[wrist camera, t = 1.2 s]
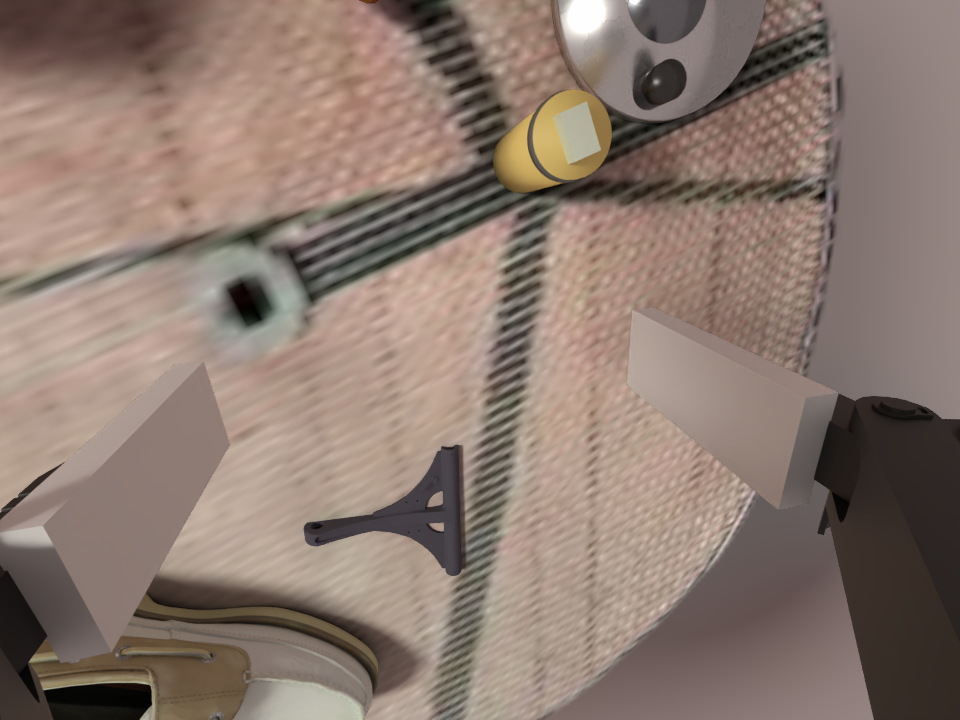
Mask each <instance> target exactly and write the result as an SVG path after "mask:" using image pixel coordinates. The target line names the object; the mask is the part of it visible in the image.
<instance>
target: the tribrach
mask: <svg viewBox="0 0 960 720" xmlns="http://www.w3.org/2000/svg"><path fill="white" fill-rule="evenodd" d="M765 3H766V0H551V7H552V17H553V24H554V29H555V34H556V38H557V42H558V45H559V48H560V51H561V53H562V56H563V59H564V61H565V63H566V65H567V67H568V69H569V71H570V73H571V75H572V76H573V78H574V79H575V81H576V82H577V84H578V85H579V87H580V88H581V89H582V90H583V91H585V92H588V93H590V94H592V95H593V96H595V97H596V98H597V99H598V100H599V101H600V102H601V103H602V104H603V106H604V108H605V109H606V111H607V112H609V113H610V114H612V115H614V116H617V117H619V118H621V119H624V120H628V121H631V122H636V123H645V124H650V123H661V122H666V121H671V120H674V119H676V118H679V117H682V116H684V115H687V114H690V113H692V112H694V111H696V110H698V109H700V108H702V107H704V106H705V105H707V104H708V103H710V102H711V101H712V100H714V99H715V98H716V97H717V96H719V95H720V94H721V93H722V92H723V91H724V90H725V89H726V88H727V87H728V86H729V84H730V83H731V82H732V81H733V80H734V78H735V77H736V76H737V74H738V73H739V71H740V70H741V68H742V67H743V65H744V64H745V62H746V60H747V58H748V56H749V54H750V52H751V51H752V48H753V46H754V43H755V41H756V38H757V36H758V33H759V29H760V26H761V22H762V19H763V14H764V9H765Z"/></svg>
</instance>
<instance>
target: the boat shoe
mask: <svg viewBox="0 0 960 720" xmlns="http://www.w3.org/2000/svg"><path fill="white" fill-rule="evenodd" d="M29 663H30V664H31V666H32V667H33V669H34V670H35V672H36V674H37V675H38V677H39V680H40V683H41V686H42V688H43V691H44V694H45V697H46V700H47V703H48V706H49V709H50V712H51V715H52V717H53V720H364V718H365V716H366V714H367V712H368V710H369V708H370V705H371V702H372V696H373V695H374V692H375V690H376V688H377V684H378V671H379V670H378V662H377V659H376V657H375V655H374V654H373V652H372V651H371V650H370V649H369V648H368V647H367V646H366V645H365V644H364V643H362V642H361V641H360V640H358V639H357V638H355V637H354V636H352V635H350V634H349V633H347V632H345V631H344V630H342V629H340V628H338V627H336V626H334V625H332V624H329V623H327V622H325V621H322V620H320V619H317V618H315V617H312V616H309V615H306V614H303V613H299V612H296V611H292V610H288V609H283V608H276V607H240V608H229V609H217V610H192V609H183V608H175V607H167V606H163V605H159V604H156V603H154V602H153V600H152V599H151V598H150V597H149V596H148V594H147V593H145V595H144V596H143V598H142V600H141V602H140V604H139V605H138V607H137V609H136V611H135V612H134V614H133V616H132V618H131V619H130V621H129V623H128V625H127V626H126V628H125V630H124V632H123V633H122V635H121V637H120V639H119V640H118V642H117V644H116V646H115V647H114V649H113V651H112V652H110V653H105V654H101V655H96V656H91V657H87V658H82V659H77V660H73V661H68V662H63V663H61V662H60V661H59V659H58V657H57V656H56V654H55V652H54V651H53V649H52V648H51V646H50V644H49V643H48V641H47V640H46V639H45V640H44V642H43V643H42V644H41V646H40V647H39V649H38V650H37V651H36V653H35V654H34V655H33V657H32V658H31V660H30V661H29Z"/></svg>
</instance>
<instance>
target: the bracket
mask: <svg viewBox="0 0 960 720" xmlns="http://www.w3.org/2000/svg"><path fill="white" fill-rule="evenodd" d="M440 491H443V504H442V505H439V506H434V507H427V508H425V505H426V502H427V501H428V499H429V498H430V497H431V496H432V495H433V494H435V493H437V492H440ZM443 522H444V531H443V532H440V531H435V530H432V529H431V528H429V526H428V525H427V524H426V523H443ZM315 527H321V528H317V529H314V528H315ZM371 531H383V532H392V533H396V534H400V535H404V536H407V537H410V538H412V539H413V540H415V541H417V542H419V543H420V544H422V545H423V546H424V547H426V548H427V549H428V550H429V551H430V552H431V553H432V554H433V555H434V556H435V558H436V559H437V561H438V562H439V564H440V565H441V567H442V568H446V573H447V574H448V575H451V576H456V575H458V574H460V572H461V536H460V498H459V459H458V445H455V446H454V448H453V449H445V448H444V447H443V446H442V447H441V451H438V452H437V454H436V456H435V458H434V461H433V463H432V465H431V467H430V469H429V470H428V472H427V473H426V475H425V476H424V478H423V479H422V480H421V481H420V483H419V484H418V485H417V486H416V487H415V488H414V489H413V490H412V491H411V492H410V493H409V494H408V495H407V496H405V497H404V498H402V499H400V500H399V501H397V502H396V503H394V504H392V505H390V506H388V507H386V508H383V509H381V510H378V511H376V512H374V513H373V514H372V515H364V516H356V517H349V518H341V519H333V520H325V521H317V522H309V523H306V524H305V526H304V534H305V540H306V542H307V544H309V545H311V546H321V545H324V544H327V543H329V542H333V541H336V540H340V539H343V538H347V537H350V536H354V535H358V534H361V533H366V532H371Z"/></svg>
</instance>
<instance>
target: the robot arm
mask: <svg viewBox="0 0 960 720" xmlns="http://www.w3.org/2000/svg"><path fill="white" fill-rule="evenodd" d="M627 386H629V387H630V388H631V389H632V390H633V391H635V392H636V393H637V394H638V395H639V396H641V397H642V398H643V399H644V400H646V401H647V402H648V403H649V404H650V405H652V406H653V407H654V408H655V409H656V410H658V411H659V412H660V413H661V414H663V415H664V416H665V417H666V418H667V419H669V420H670V421H671V422H672V423H673V424H675V425H676V426H677V427H678V428H679V429H681V430H682V431H683V432H684V433H686V434H687V435H688V436H689V437H690V438H692V439H693V440H694V441H695V442H696V443H698V444H699V445H700V446H701V447H703V448H704V449H705V450H706V451H707V452H709V453H710V454H711V455H712V456H713V457H715V458H716V459H717V460H718V461H719V462H721V463H722V464H723V465H724V466H726V467H727V468H728V469H729V470H730V471H732V472H733V473H734V474H735V475H736V476H738V477H739V478H740V479H741V480H743V481H744V482H745V483H746V484H747V485H749V486H750V487H751V488H752V489H753V490H755V491H756V492H757V493H758V494H759V495H761V496H762V497H763V498H764V499H766V500H767V501H768V502H769V503H771V504H772V505H773V506H774V507H775V508H776V509H778V510H781V509H785V508H790V507H795V506H800V505H804V504H808V502H809V498H810V495H811V492H812V488H813V484H814V481H815V480H816V481H818V482H819V483H820V484H822V485H823V486H825V487H827V488H828V489H829V494H828V497H827V501H826V504H825V507H824V511H823V514H822V518H821V521H820V525H819V528H818V534H822V535H824V532H825V529H826V528H829V527H831V532H832V536H833V541H834V545H835V550H836V554H837V558H838V563H839V567H840V571H841V576H842V580H843V585H844V589H845V594H846V598H847V602H848V607H849V611H850V616H851V620H852V625H853V629H854V634H855V638H856V642H857V647H858V651H859V655H860V660H861V665H862V669H863V673H864V677H865V682H866V687H867V691H868V695H869V700H870V704H871V709H872V713H873V717H874V720H960V420H959V419H941V418H940V417H939V416H938V415H937V414H936V413H934V412H933V411H931V410H930V409H928V408H926V407H923V406H921V405H918V404H915V403H912V402H908V401H906V400H902V399H898V398H890V397H879V396H871V397H862V398H860V399H858V400H856V401H854V400H852V399H849V398H847V397H845V396H843V395H841V394H839V393H838V392H836V391H834V390H832V389H830V388H828V387H825V386H823V385H821V384H819V383H817V382H814V381H812V380H810V379H808V378H806V377H804V376H802V375H800V374H797V373H795V372H793V371H791V370H789V369H786V368H784V367H782V366H780V365H778V364H776V363H773V362H771V361H769V360H767V359H765V358H763V357H760V356H758V355H756V354H754V353H752V352H750V351H747V350H745V349H743V348H741V347H739V346H737V345H734V344H732V343H730V342H728V341H726V340H724V339H721V338H719V337H717V336H715V335H713V334H710V333H708V332H706V331H704V330H702V329H700V328H697V327H695V326H693V325H691V324H689V323H687V322H684V321H682V320H680V319H678V318H676V317H674V316H671V315H669V314H667V313H665V312H663V311H661V310H658V309H656V308H654V307H652V308H644V309H636V310H632V323H631V336H630V350H629V363H628V377H627ZM229 445H230V443H229V440H228V437H227V434H226V430H225V427H224V424H223V421H222V418H221V415H220V411H219V408H218V405H217V402H216V399H215V396H214V392H213V389H212V386H211V383H210V380H209V377H208V374H207V370H206V367H205V364H204V361H202V362H194V363H186V364H177V365H173V366H172V367H171V368H170V369H169V370H168V371H167V372H165V373H164V374H163V375H162V376H161V377H160V378H159V379H158V380H156V381H155V382H154V383H153V384H152V385H151V386H150V387H149V388H148V389H146V390H145V391H144V392H143V393H142V394H141V395H140V396H139V397H137V398H136V399H135V400H134V401H133V402H132V403H131V404H130V405H128V406H127V407H126V408H125V409H124V410H123V411H122V412H121V413H119V414H118V415H117V416H116V417H115V418H114V419H113V420H112V421H111V422H109V423H108V424H107V425H106V426H105V427H104V428H103V429H102V430H100V431H99V432H98V433H97V434H96V435H95V436H94V437H93V438H91V439H90V440H89V441H88V442H87V443H86V444H85V445H84V446H82V447H81V448H80V449H79V450H78V451H77V452H76V453H75V454H74V455H72V456H71V457H70V458H69V459H68V460H67V461H66V462H64V463H62V464H60V465H59V466H57V467H55V468H54V469H52V470H50V471H48V472H47V473H45V474H43V475H41V476H40V477H38V478H37V479H36V480H35V481H33V482H32V483H31V484H30V485H29V486H28V487H27V488H25V489H24V490H23V491H22V492H21V493H20V494H18V498H14V499H13V500H11V501H10V502H9V503H8V504H7V505H6V506H5V507H3V508H2V509H1V510H2V512H1V513H0V720H53V717H52V715H51V712H50V709H49V706H48V703H47V700H46V697H45V694H44V691H43V688H42V686H41V683H40V680H39V677H38V675H37V674H36V672H35V670H34V669H33V667H32V666H31V664H30V663H29V661H30V660H31V658H32V657H33V655H34V654H35V653H36V651H37V650H38V649H39V647H40V646H41V644H42V643H43V642H44V640H45V639H46V640H47V641H48V643H49V644H50V646H51V648H52V649H53V651H54V652H55V654H56V656H57V657H58V659H59V661H60V662H61V663H63V662H68V661H73V660H77V659H82V658H87V657H91V656H96V655H101V654H105V653H110V652H112V651H113V649H114V647H115V646H116V644H117V642H118V640H119V639H120V637H121V635H122V633H123V632H124V630H125V628H126V626H127V625H128V623H129V621H130V619H131V618H132V616H133V614H134V612H135V611H136V609H137V607H138V605H139V604H140V602H141V600H142V598H143V596H144V595H145V593H146V591H147V589H148V588H149V586H150V584H151V582H152V581H153V579H154V577H155V575H156V574H157V572H158V570H159V568H160V567H161V565H162V563H163V561H164V560H165V558H166V556H167V554H168V553H169V551H170V549H171V547H172V546H173V544H174V542H175V540H176V539H177V537H178V535H179V533H180V531H181V530H182V528H183V526H184V524H185V523H186V521H187V519H188V517H189V516H190V514H191V512H192V510H193V509H194V507H195V505H196V503H197V502H198V500H199V498H200V496H201V495H202V493H203V491H204V489H205V488H206V486H207V484H208V482H209V481H210V479H211V477H212V475H213V474H214V472H215V470H216V468H217V466H218V465H219V463H220V461H221V459H222V458H223V456H224V454H225V452H226V451H227V449H228V447H229Z"/></svg>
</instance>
